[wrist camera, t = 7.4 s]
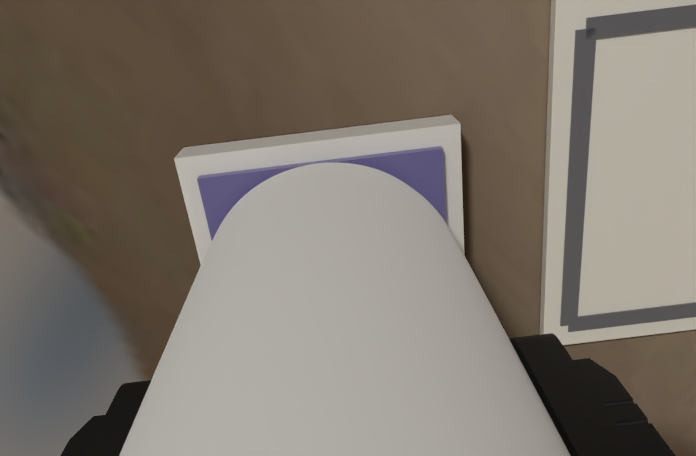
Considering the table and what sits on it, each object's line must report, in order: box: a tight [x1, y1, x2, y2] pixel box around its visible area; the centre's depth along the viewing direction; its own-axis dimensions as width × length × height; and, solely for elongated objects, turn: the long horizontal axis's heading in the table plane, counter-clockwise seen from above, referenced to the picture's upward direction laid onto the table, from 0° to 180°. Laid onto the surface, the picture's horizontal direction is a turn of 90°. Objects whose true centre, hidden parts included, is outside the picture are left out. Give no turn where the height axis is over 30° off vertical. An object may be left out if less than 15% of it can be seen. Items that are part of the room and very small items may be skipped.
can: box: [119, 162, 571, 456], centre depth 9 cm, size 6×6×12 cm
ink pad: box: [174, 115, 464, 264], centre depth 15 cm, size 7×7×1 cm
